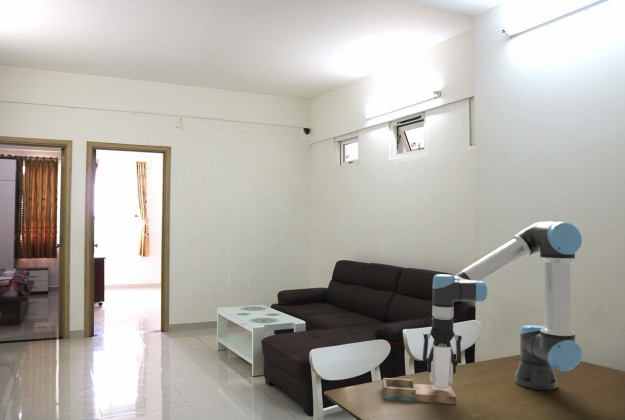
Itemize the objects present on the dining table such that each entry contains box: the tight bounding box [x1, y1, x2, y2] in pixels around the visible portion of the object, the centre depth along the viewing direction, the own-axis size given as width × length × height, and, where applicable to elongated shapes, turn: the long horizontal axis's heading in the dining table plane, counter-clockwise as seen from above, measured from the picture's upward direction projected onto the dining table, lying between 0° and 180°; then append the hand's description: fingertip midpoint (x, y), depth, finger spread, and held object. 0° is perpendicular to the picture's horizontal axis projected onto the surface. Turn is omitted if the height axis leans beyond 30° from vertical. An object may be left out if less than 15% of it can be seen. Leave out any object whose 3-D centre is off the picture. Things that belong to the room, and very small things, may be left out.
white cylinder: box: [431, 343, 452, 389], centre depth 177 cm, size 7×7×15 cm
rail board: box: [382, 377, 457, 405], centre depth 177 cm, size 25×11×4 cm, turn 84°
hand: (441, 381), depth 176 cm, fingers closed on white cylinder, 6 cm apart
